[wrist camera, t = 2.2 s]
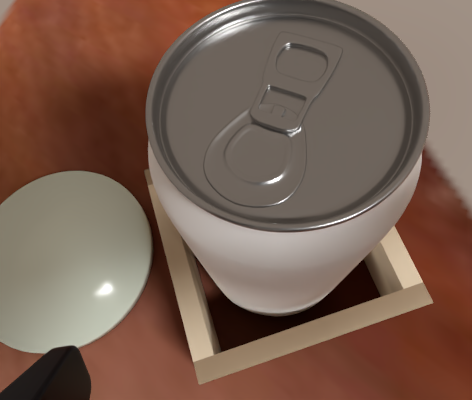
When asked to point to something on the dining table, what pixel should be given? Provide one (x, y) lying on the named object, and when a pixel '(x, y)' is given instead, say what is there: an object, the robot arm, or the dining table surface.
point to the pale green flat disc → (70, 260)
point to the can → (285, 145)
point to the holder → (224, 363)
